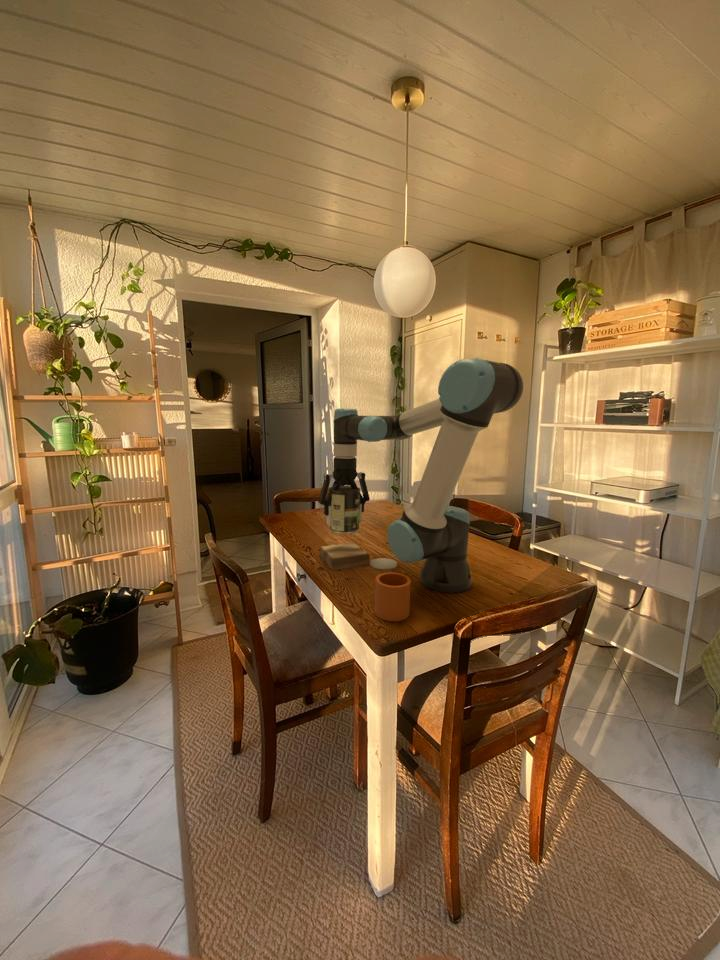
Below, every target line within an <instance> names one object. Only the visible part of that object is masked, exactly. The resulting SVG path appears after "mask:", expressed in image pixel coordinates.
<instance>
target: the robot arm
mask: <svg viewBox="0 0 720 960" xmlns="http://www.w3.org/2000/svg"><path fill="white" fill-rule="evenodd" d="M523 392H524V381H523V378H522V375H521V373H520V372H519V371H518V369H516V368H515V367H514V366H512V365H510V364H508V363H504V362H499V361H498V362H497V361H492V360H488V359H482V358H478V357H473V358H470V357H469V358H462V359H458V360H457V361H455V362H453V363H451V365H449V366H448V367H447V368H446V369H445V371H444V372H443V374H442V375H441V378H440V379H439V382H438V389H437V394H438V395H439V398H437V399H435V400H432V401H430V402H426V403H424V404H422V405H418V406H416V407H413V408H410V409H408V410H406V411H403V412H401V413H398V414H396V415H359V413H358V410H357V408H336V409H335V410H334V412H333V413H334V414H333V456H334V457H333V459H332V460H333V462H332V465H333V468H332V469H333V471H332V472H331V473H323V482H322V487H321V490H320V494H319V498H318V500H317V501H318V504H320V505H321V506H323V515H325V516H326V518H325V519H326V523H325V524H327V526H328V527H329V526H331V509H332V506H330V503H331V501H332V493H330V492H329V488H330V483H331V481H332V479H334V481H333V483H332V486H331V487H332V488H331V489H332V490H338V488H340V486H351V487H352V488H353V489H358V488H359V487H358V486H357V483H356V481H355V480H356V478H357V479H358V482H359V486H360V491H361V492H362V493H361V492H360V499H359V524H361V523H362V517H363V516H362V515H363V514H362V513H364V512H365V504H366V502H369V501H370V500H371V499H370V494H369V490H368V487H367V482H366V473H365V472H363V471H359V472H358V471H357V466H358V465H357V454H358V449H357V448H358V445H357V444H358V441H364V442H367V443H368V442H369V443H372V442H374V443H375V442H376V443H377V442H380V441H387V440H389V441H390V440H392V441H393V440H398V441H399V440H400V441H401V440H406V439H410V438H411V437H412V436H413V435H415V434H418V433H422V432H425V431H428V430H432V429H435V428H438V427H440V428H439V431H438V433H437V435H436V439H435V441H434V444H433V446H432V450H431V452H430V455H429V458H428V461H427V463H426V466H425V469H424V471H423V474H422V477H421V479H420V482H419V485H418V488H417V490H416V493H415V496H414V499H413V501H412V502H411V503H408V504H406V505H405V507H404V509H403V512H402V515H401V517H400V519H395V520H394V521H393V522H391V523H390V524H389V526H388V528H387V535H386V536H387V542H388V543H387V544H388V545H389V548H390V549H391V552H392V553H393V555H394V556H395V557H396V559H398V560H400V562H403V563H406V564H412V563H419V562H421V561H422V560H424V562H423V563H422V564H423V565H422V566H421V569H420V570H419V571H420V572H419V582H420V584H421V585H423V586H424V587H426V588H427V589H430V590H432V591H436V592H442V593H449V594H452V593H453V594H455V593H456V594H457V593H461V592H466V591H467V590H470V588H471V587H472V574H471V571H470V566H469V563H468V549H469V548H468V545H469V532H470V531H469V530H470V525H471V522H470V513H469V511H467V509H464V508H461V507H457V506H452V505H449V503H450V501H451V499H452V496H453V494H454V492H455V489H456V487H457V485H458V482H459V479H460V477H461V476H462V475H461V474H462V472H463V469H464V467H465V465H466V462H467V460H468V458H469V456H470V453H471V450H472V448H473V446H474V443H475V441H476V438H477V436H478V435H479V432H481V431H483V430H485V429H487V428H488V427H489V424H490V422H491V420H492V418H493V416H494V415H495V414H500V413H504V412H507V411H509V410H511V409H512V408H514V407H515V406H516V405H517V404H518V402H520V400H521V398H522V396H523Z"/></svg>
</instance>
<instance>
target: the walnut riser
mask: <svg viewBox="0 0 720 960" xmlns="http://www.w3.org/2000/svg"><path fill="white" fill-rule="evenodd" d="M370 555H371V554H370V553H368V552H367V551H366V550H365V549H363V548H362V547H360V545H359V544H357V543H355V542H347V543H340V544H332V545H323V546H319V558H320V559H321V560H322V561H323V562H324V563H325V564H326V565H327V566H328V568H330V570H332V571H335V570H336V571H338V570H344V569H351V568H356V567H357V568H358V567H361V566H362V567H364V566H370Z"/></svg>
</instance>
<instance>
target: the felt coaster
mask: <svg viewBox="0 0 720 960" xmlns="http://www.w3.org/2000/svg"><path fill="white" fill-rule="evenodd" d="M369 566H370V567H372V568H373V569H375V570H376V569H377V570H385V571H386V570H393V569H396V568H397V566H398V562H397V561H396V560H395V559H392V558H387V557H379V558H373V559H371V560H369Z"/></svg>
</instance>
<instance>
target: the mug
mask: <svg viewBox="0 0 720 960" xmlns="http://www.w3.org/2000/svg"><path fill="white" fill-rule="evenodd" d="M411 583H412V580H411V578H410V577H409V576H408V575H406V574H403V573H401V572H394V571H393V572H391V571H389V572H383V573H378V574H377V575H376V576H375V578H374V580H373V594H374V614H375V616H376V617H378V618H379V619H380V620H382V621H388V622H400V621H404V620H406V619H407V618H409V616H410V606H411V605H410V603H411V586H412V584H411Z"/></svg>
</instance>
